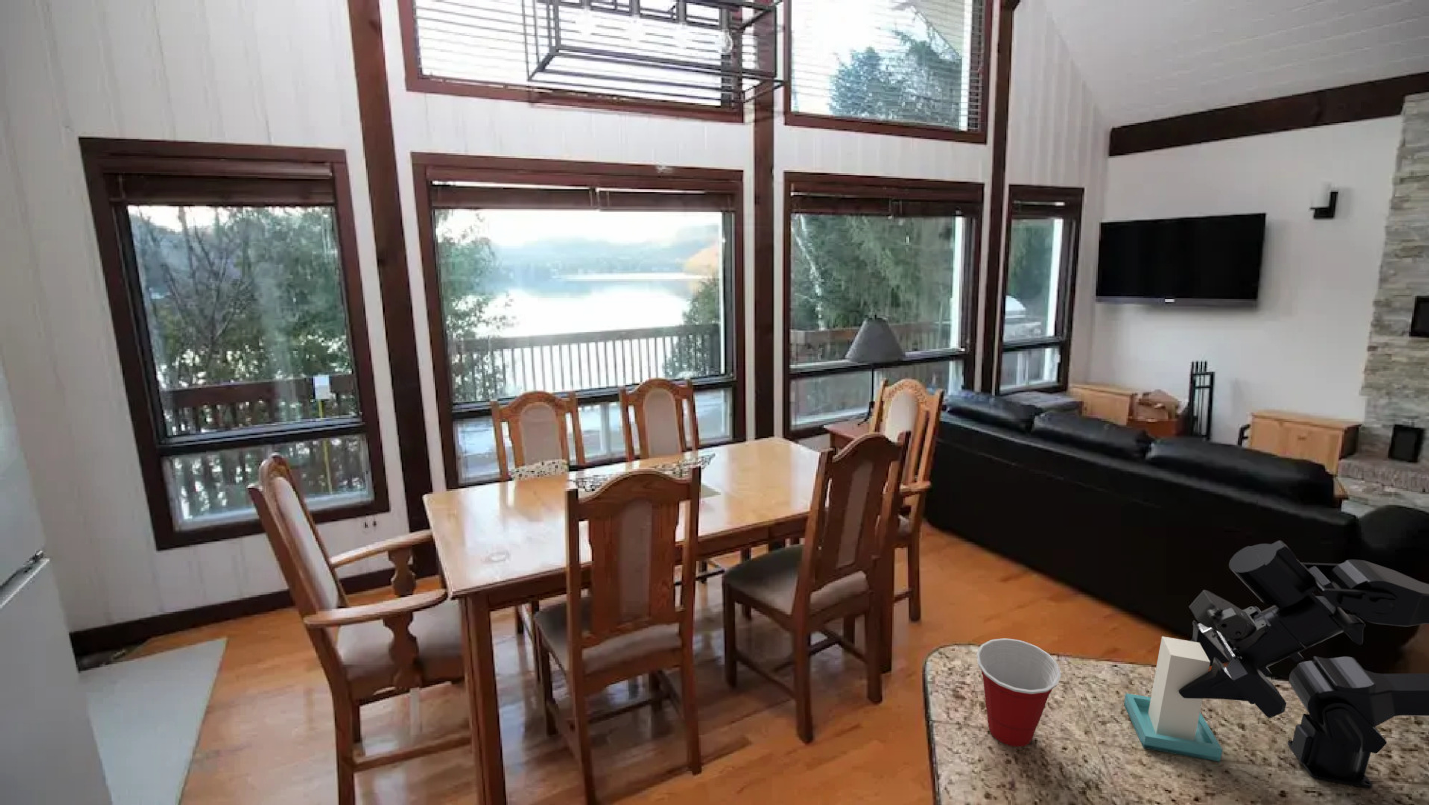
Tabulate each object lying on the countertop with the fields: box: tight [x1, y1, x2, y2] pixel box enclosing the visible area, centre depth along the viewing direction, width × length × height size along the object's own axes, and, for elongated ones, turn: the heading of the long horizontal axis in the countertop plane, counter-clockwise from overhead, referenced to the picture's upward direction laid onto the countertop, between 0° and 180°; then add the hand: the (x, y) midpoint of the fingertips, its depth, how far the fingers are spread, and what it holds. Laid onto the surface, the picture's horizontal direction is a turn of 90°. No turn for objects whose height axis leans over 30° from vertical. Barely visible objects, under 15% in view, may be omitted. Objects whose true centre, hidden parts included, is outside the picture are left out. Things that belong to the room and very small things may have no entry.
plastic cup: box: [975, 637, 1062, 748], centre depth 92 cm, size 11×11×12 cm
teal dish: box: [1123, 692, 1223, 763], centre depth 93 cm, size 9×9×2 cm
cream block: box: [1148, 636, 1211, 741], centre depth 92 cm, size 4×4×13 cm
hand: (1175, 682), depth 92 cm, fingers open, 5 cm apart
